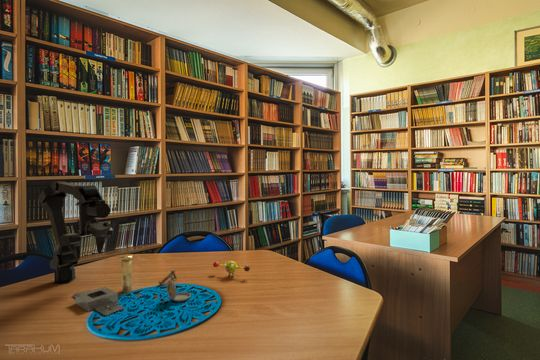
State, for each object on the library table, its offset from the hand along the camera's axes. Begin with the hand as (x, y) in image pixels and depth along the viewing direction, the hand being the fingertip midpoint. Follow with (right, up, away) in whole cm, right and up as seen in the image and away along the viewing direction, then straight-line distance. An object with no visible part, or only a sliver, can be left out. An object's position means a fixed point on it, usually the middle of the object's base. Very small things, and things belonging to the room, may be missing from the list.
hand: (89, 256), depth 123 cm
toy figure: (+54, -12, +13) cm, 57 cm away
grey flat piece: (+11, -13, -13) cm, 21 cm away
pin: (+16, -13, -3) cm, 21 cm away
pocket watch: (+38, -13, -11) cm, 42 cm away
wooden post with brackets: (+29, -13, +6) cm, 32 cm away
